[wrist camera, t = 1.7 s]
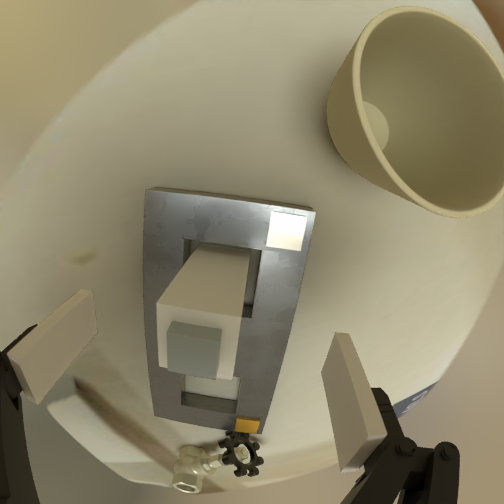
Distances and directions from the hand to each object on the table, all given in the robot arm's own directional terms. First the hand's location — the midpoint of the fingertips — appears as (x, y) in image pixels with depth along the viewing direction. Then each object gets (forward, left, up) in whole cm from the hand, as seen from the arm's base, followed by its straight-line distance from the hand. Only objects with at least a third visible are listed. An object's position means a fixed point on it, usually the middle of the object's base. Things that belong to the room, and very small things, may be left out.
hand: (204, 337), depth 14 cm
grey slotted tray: (0, -6, -9) cm, 11 cm away
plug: (0, 0, -9) cm, 9 cm away
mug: (+10, +13, -10) cm, 19 cm away
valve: (0, -25, -10) cm, 27 cm away
